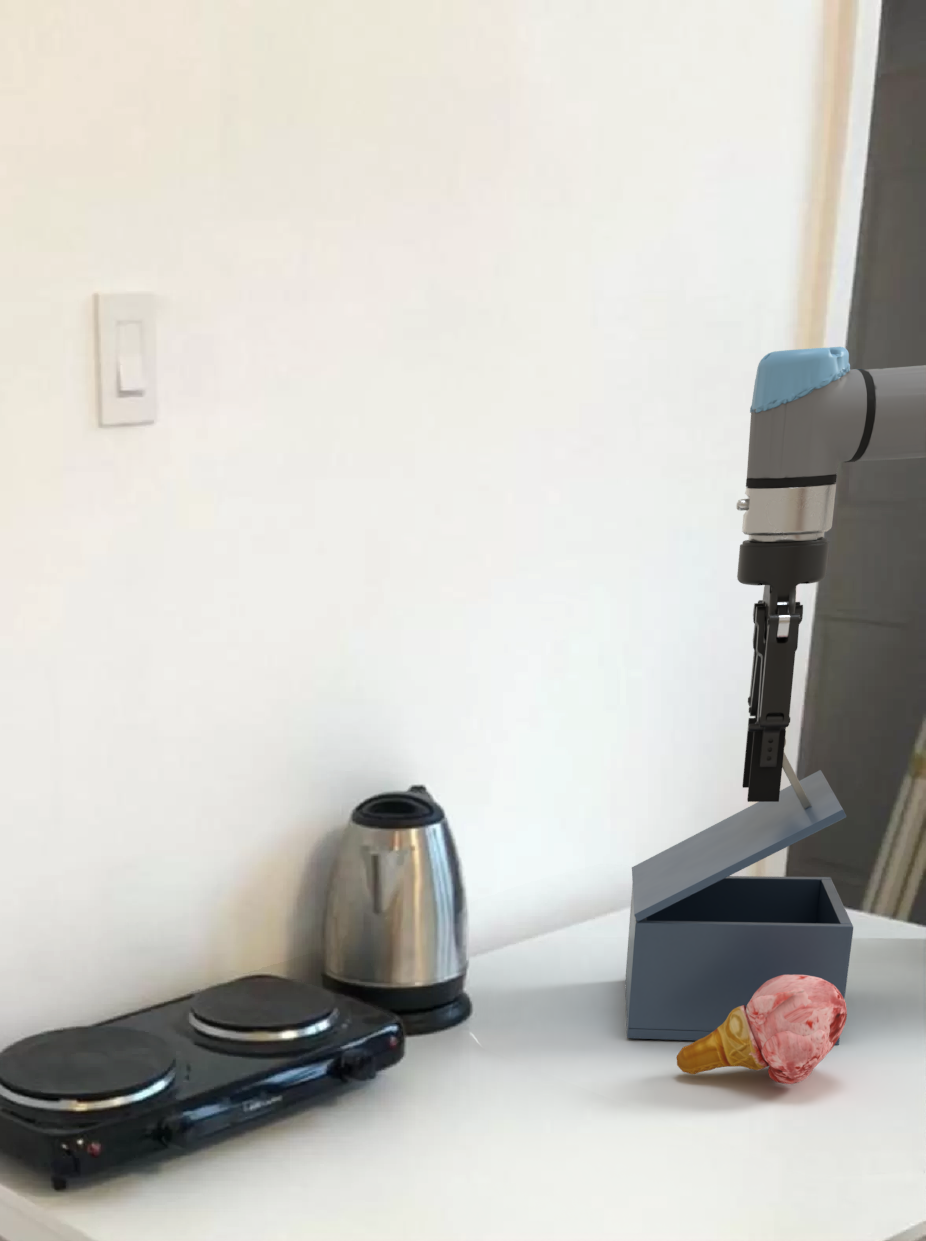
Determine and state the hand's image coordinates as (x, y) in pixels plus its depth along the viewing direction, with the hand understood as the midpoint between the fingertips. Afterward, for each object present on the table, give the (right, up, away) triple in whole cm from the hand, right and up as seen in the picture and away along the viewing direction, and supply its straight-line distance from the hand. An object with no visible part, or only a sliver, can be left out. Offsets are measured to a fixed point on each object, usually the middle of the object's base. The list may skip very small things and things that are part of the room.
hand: (760, 793), depth 169 cm
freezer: (0, -20, +9) cm, 22 cm away
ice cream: (-4, -28, -9) cm, 30 cm away
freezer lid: (-2, -5, +3) cm, 6 cm away
